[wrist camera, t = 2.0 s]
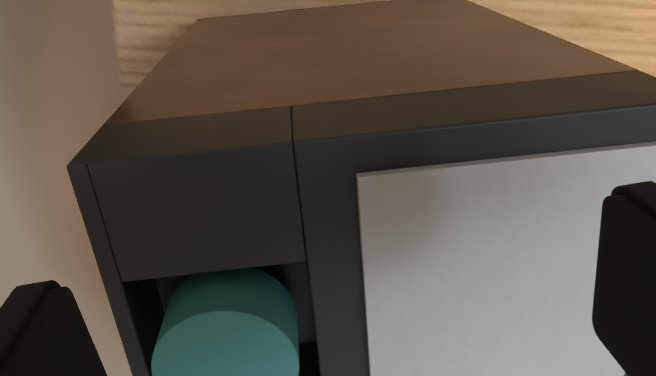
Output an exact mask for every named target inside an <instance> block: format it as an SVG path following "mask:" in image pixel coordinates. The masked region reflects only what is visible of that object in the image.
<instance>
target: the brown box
mask: <svg viewBox="0 0 656 376" xmlns="http://www.w3.org/2000/svg"><path fill="white" fill-rule="evenodd" d="M632 71H639V70H637V69H635V68H632V67H630V66H628V65H625V64H623V63H620V62H618V61H615V60H613V59H610V58H608V57H605V56H603V55H600V54H598V53H596V52H593V51H591V50H588V49H586V48H583V47H581V46H578V45H576V44H573V43H571V42H568V41H566V40H564V39H561V38H559V37H556V36H554V35H551V34H549V33H546V32H544V31H541V30H539V29H536V28H534V27H532V26H529V25H527V24H524V23H522V22H519V21H517V20H514V19H512V18H509V17H507V16H505V15H502V14H500V13H497V12H495V11H492V10H490V9H487V8H485V7H482V6H480V5H477V4H475V3H473V2H470V1H468V0H391V1H381V2H371V3H361V4H350V5H340V6H330V7H320V8H309V9H299V10H289V11H279V12H268V13H258V14H248V15H238V16H227V17H217V18H207V19H198V20H197V21H196V22H195V23H194V24H193V25H192V27H191V28H190V29H189V30H188V31H187V32H186V33H185V34H184V35H183V37H182V38H181V39H180V40H179V41H178V42H177V43H176V44H175V46H174V47H173V48H172V49H171V50H170V51H169V52H168V53H167V54H166V56H165V57H164V58H163V59H162V60H161V61H160V62H159V63H158V64H157V66H156V67H155V68H154V69H153V70H152V71H151V72H150V73H149V74H148V76H147V77H146V78H145V79H144V80H143V81H142V82H141V83H140V85H139V86H138V87H137V88H136V89H135V90H134V91H133V92H132V93H131V95H130V96H129V97H128V98H127V99H126V100H125V101H124V102H123V103H122V105H121V106H120V107H119V108H118V109H117V110H116V111H115V113H114V114H113V115H112V116H111V117H110V118H109V119H108V120H107V121H106V122H105V124H104V125H103V126H105V125H115V124H117V125H119V124H124V123H133V122H143V121H153V120H163V119H172V118H182V117H192V116H201V115H211V114H221V113H231V112H240V111H250V110H260V109H269V108H279V107H291V108H292V107H293V106H302V105H312V104H322V103H331V102H341V101H351V100H360V99H370V98H380V97H390V96H399V95H409V94H419V93H428V92H438V91H448V90H458V89H467V88H477V87H487V86H496V85H506V84H516V83H526V82H535V81H545V80H555V79H564V78H574V77H584V76H594V75H603V74H613V73H623V72H632Z"/></svg>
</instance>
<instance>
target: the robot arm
mask: <svg viewBox="0 0 656 376" xmlns="http://www.w3.org/2000/svg"><path fill="white" fill-rule="evenodd" d="M592 324H593V328H594V331H595V333H596V335H597V337H598V338H599V340H600V341H601V342H602V343H603V345H604V346H605V347H606V349H607V350H608V351H609V352H610V354H611V355H612V356H613V357H614V359H615V360H616V361H617V362H618V364H619V365H620V366H621V368H622V369H623V370H624V371H625V373H626V374H627V375H628V376H656V183H655V182H653V181H645V182H639V183H633V184H627V185H621V186H617V187H615V188H614V189H613V191H612V192H611V196H607V197H605V199H604V200H603V204H602V213H601V223H600V234H599V245H598V256H597V266H596V277H595V288H594V299H593V309H592ZM0 376H107V374H106V372H105V369H104V367H103V365H102V362H101V360H100V357H99V355H98V353H97V350H96V348H95V346H94V343H93V341H92V338H91V336H90V334H89V332H88V329H87V327H86V324H85V322H84V319H83V317H82V315H81V312H80V310H79V308H78V305H77V303H76V300H75V298H74V296H73V293H72V292H71V290H70V289H69V288H68V287H60V285H59V284H58V283H57V282H56V281H53V280H51V281H45V282H39V283H32V284H26V285H21V286H17V287H16V288H15V289H14V290H13V291H12V292H11V294H10V295H9V297H8V298H7V299H6V301H5V302H4V304H3V305H2V307H1V308H0Z"/></svg>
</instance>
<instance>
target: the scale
mask: <svg viewBox="0 0 656 376" xmlns="http://www.w3.org/2000/svg"><path fill="white" fill-rule="evenodd" d="M67 170H68V173H69V176H70V180H71V183H72V186H73V189H74V192H75V195H76V198H77V202H78V205H79V208H80V211H81V214H82V217H83V220H84V223H85V227H86V230H87V233H88V236H89V239H90V242H91V246H92V249H93V252H94V255H95V258H96V261H97V265H98V268H99V271H100V274H101V277H102V281H103V283H104V287H105V290H106V293H107V296H108V299H109V303H110V306H111V309H112V312H113V315H114V318H115V321H116V325H117V328H118V331H119V334H120V337H121V341H122V344H123V346H124V350H125V353H126V356H127V359H128V363H129V366H130V369H131V372H132V375H133V376H152V371H151V361H152V355H153V352H154V348H155V345H156V342H157V338H158V335H159V332H160V329H161V325H162V322H163V319H164V315H165V312H166V309H167V305H168V302H169V300H170V298H171V296H172V294H173V292H174V291H175V290H176V288H177V287H178V286H179V285H180V284H181V283H182V282H183V281H185V280H186V279H187V278H188V277H190V276H192V275H193V274H199V273H208V272H217V271H226V270H235V269H244V268H255V269H258V270H260V271H263V272H265V273H267V274H269V275H271V276H272V277H274V278H275V279H277V280H278V281H279V282H280V283H281V284H282V285H283V286H284V287H285V288H286V289H287V290H288V292H289V293H290V295H291V296H292V298H293V300H294V303H295V305H296V309H297V319H298V344H299V375H298V376H628V375H627V374H626V373H625V371H624V370H623V369H622V368H621V366H620V365H619V364H618V362H617V361H616V360H615V359H614V357H613V356H612V355H611V354H610V352H609V351H608V350H607V349H606V347H605V346H604V345H603V343H602V342H601V341H600V340H599V338H598V337H597V335H596V333H595V331H594V328H593V324H592V309H593V299H594V288H595V277H596V266H597V256H598V245H599V234H600V223H601V213H602V204H603V200H604V199H605V197H607V196H611V192H612V191H613V189H614V188H615V187H617V186H621V185H627V184H633V183H639V182H645V181H653V182H655V183H656V77H653V76H651V75H649V74H646V73H644V72H641V71H632V72H623V73H613V74H603V75H594V76H584V77H574V78H564V79H555V80H545V81H535V82H526V83H516V84H506V85H496V86H487V87H477V88H467V89H458V90H448V91H438V92H428V93H419V94H409V95H399V96H390V97H380V98H370V99H360V100H351V101H341V102H331V103H322V104H312V105H302V106H293V107H292V108H291V107H279V108H269V109H260V110H250V111H240V112H231V113H221V114H211V115H201V116H192V117H182V118H172V119H163V120H153V121H143V122H133V123H124V124H119V125H117V124H115V125H105V126H102V127H101V128H100V129H99V130H98V131H97V133H96V134H95V135H94V136H93V137H92V138H91V139H90V140H89V141H88V143H87V144H86V145H85V146H84V147H83V148H82V149H81V150H80V151H79V153H78V154H77V155H76V156H75V157H74V158H73V159H72V160H71V161H70V163H69V164H68V165H67Z"/></svg>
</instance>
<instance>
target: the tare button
mask: <svg viewBox="0 0 656 376" xmlns="http://www.w3.org/2000/svg"><path fill="white" fill-rule="evenodd" d="M151 371H152V376H298V375H299V344H298V319H297V309H296V305H295V303H294V300H293V298H292V296H291V295H290V293H289V292H288V290H287V289H286V288H285V287H284V286H283V285H282V284H281V283H280V282H279V281H278V280H277V279H275V278H274V277H272V276H271V275H269V274H267V273H265V272H263V271H260V270H258V269H255V268H244V269H235V270H226V271H217V272H208V273H199V274H193V275H192V276H190V277H188V278H187V279H186V280H185V281H183V282H182V283H181V284H180V285H179V286H178V287H177V288H176V290H175V291H174V292H173V294H172V296H171V298H170V300H169V302H168V305H167V309H166V312H165V315H164V319H163V322H162V325H161V329H160V332H159V335H158V338H157V342H156V345H155V348H154V352H153V355H152V361H151Z"/></svg>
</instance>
